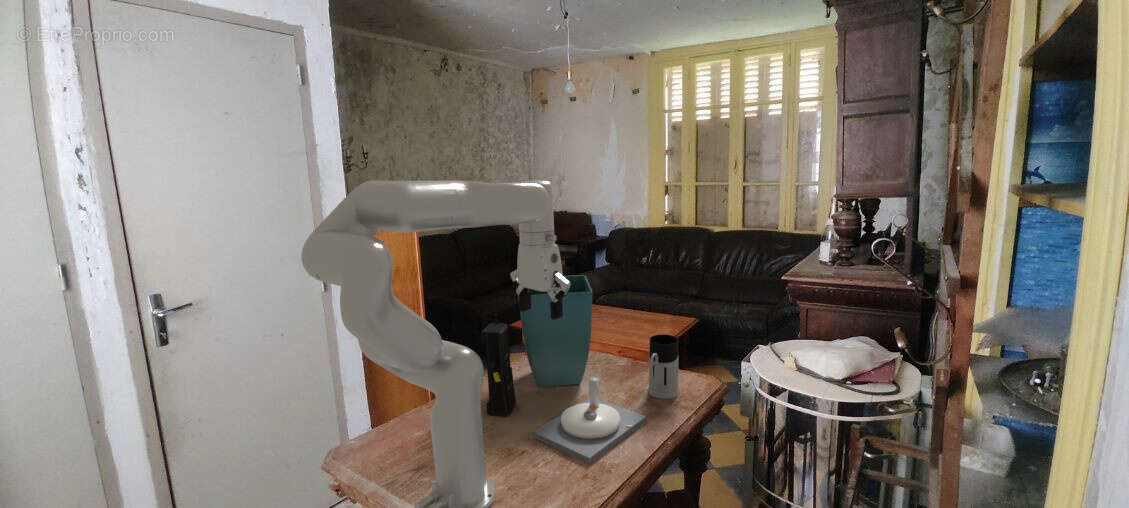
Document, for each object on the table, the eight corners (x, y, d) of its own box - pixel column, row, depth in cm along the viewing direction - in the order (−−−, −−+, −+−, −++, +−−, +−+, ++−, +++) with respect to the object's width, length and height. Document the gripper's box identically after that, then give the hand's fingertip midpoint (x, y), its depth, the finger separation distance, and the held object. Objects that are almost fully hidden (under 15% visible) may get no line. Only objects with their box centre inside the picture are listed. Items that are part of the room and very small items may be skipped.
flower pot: (524, 364, 164) (519, 277, 158) (587, 361, 165) (585, 274, 159) (523, 394, 144) (517, 295, 139) (595, 389, 145) (592, 291, 140)
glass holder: (684, 387, 145) (684, 336, 142) (667, 410, 133) (667, 355, 130) (653, 381, 149) (653, 331, 146) (635, 403, 137) (634, 349, 134)
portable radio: (508, 419, 131) (502, 324, 126) (485, 417, 133) (478, 323, 128) (517, 404, 139) (511, 314, 134) (495, 402, 140) (489, 313, 135)
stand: (590, 464, 112) (590, 457, 111) (533, 437, 123) (532, 430, 122) (647, 422, 128) (647, 415, 127) (591, 401, 139) (591, 395, 138)
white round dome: (615, 441, 117) (615, 406, 115) (554, 435, 120) (553, 401, 118) (623, 410, 130) (623, 378, 128) (568, 406, 133) (567, 375, 131)
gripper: (579, 239, 110) (581, 316, 114) (521, 232, 121) (525, 303, 125) (554, 245, 105) (558, 326, 108) (497, 237, 116) (502, 311, 119)
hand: (540, 313), depth 116 cm, fingers open, 9 cm apart
